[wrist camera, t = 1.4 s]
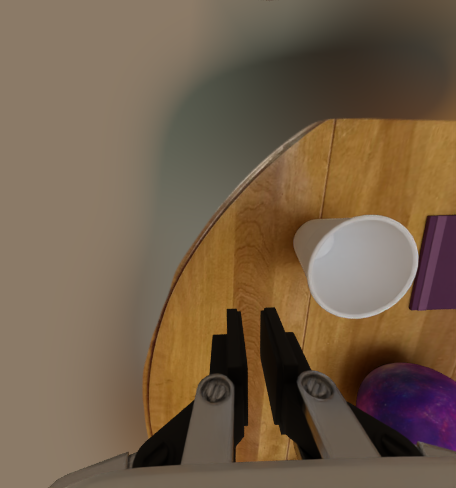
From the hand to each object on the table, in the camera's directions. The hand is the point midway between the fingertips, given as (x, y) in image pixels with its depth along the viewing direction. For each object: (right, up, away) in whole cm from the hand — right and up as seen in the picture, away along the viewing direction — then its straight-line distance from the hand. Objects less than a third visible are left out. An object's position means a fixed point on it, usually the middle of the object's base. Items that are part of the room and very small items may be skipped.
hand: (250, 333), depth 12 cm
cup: (+11, +5, +19) cm, 22 cm away
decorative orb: (+24, -18, +25) cm, 39 cm away
